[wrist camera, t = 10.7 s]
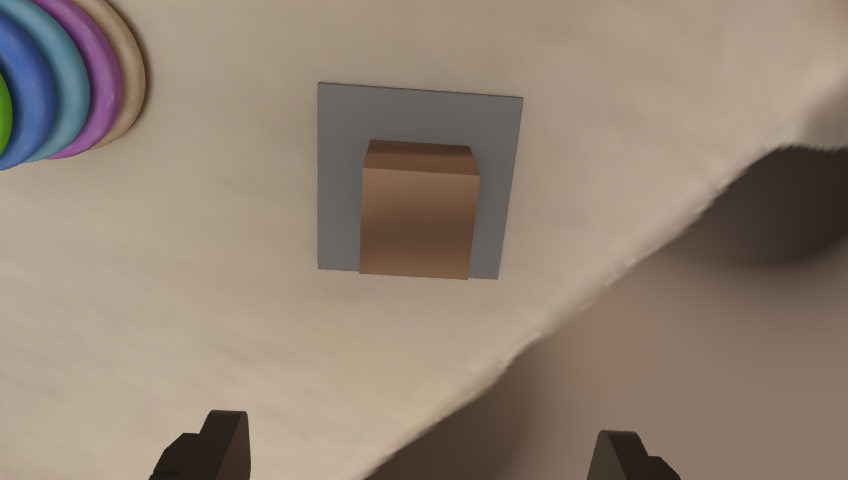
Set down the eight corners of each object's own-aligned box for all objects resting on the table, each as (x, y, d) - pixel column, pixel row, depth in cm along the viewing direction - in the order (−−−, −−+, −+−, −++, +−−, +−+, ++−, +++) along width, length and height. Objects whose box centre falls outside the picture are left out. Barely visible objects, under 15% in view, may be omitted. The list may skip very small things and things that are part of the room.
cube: (370, 139, 29) (362, 167, 24) (469, 146, 29) (480, 175, 24) (366, 230, 31) (359, 273, 26) (459, 236, 31) (467, 279, 26)
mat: (319, 82, 28) (318, 83, 28) (521, 97, 29) (523, 98, 28) (318, 265, 32) (317, 269, 32) (496, 276, 33) (497, 279, 32)
